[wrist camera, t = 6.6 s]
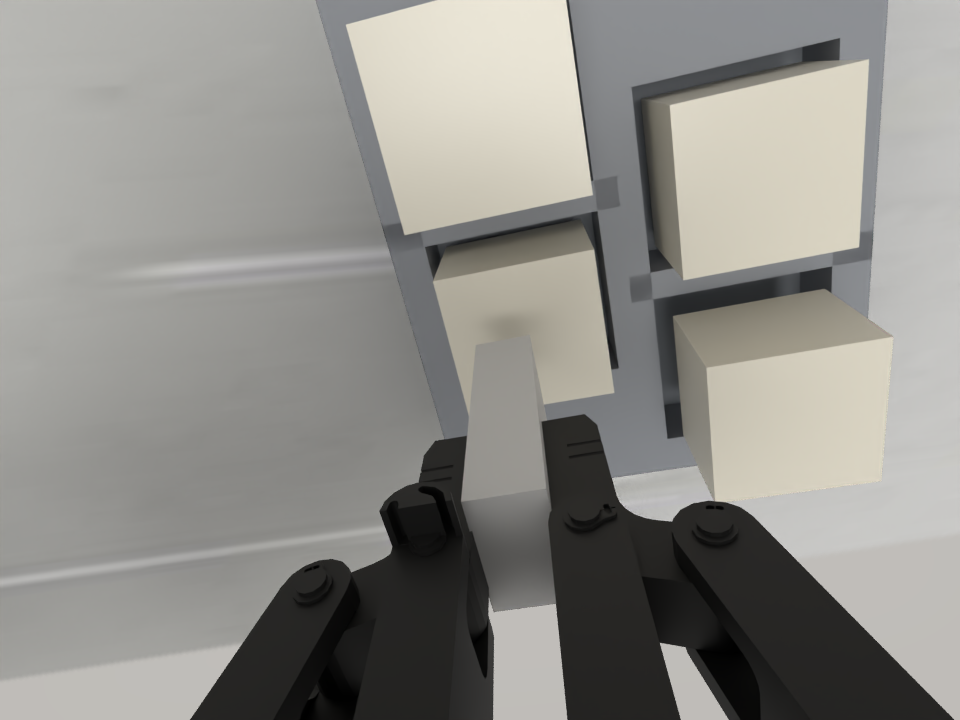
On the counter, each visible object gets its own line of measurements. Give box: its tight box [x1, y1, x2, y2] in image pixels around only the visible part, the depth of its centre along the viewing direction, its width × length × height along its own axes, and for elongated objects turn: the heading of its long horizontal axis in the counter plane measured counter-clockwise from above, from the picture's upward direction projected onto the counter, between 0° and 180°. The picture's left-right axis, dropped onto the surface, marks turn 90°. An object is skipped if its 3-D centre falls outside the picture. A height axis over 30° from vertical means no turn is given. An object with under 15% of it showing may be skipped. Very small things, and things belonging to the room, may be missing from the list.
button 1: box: [673, 289, 893, 502], centre depth 19 cm, size 5×5×4 cm
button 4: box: [346, 0, 593, 235], centre depth 16 cm, size 5×5×4 cm
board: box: [316, 0, 888, 478], centre depth 20 cm, size 16×25×5 cm, turn 13°
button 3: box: [641, 59, 869, 280], centre depth 18 cm, size 5×5×4 cm
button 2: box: [433, 219, 614, 415], centre depth 21 cm, size 5×5×4 cm
